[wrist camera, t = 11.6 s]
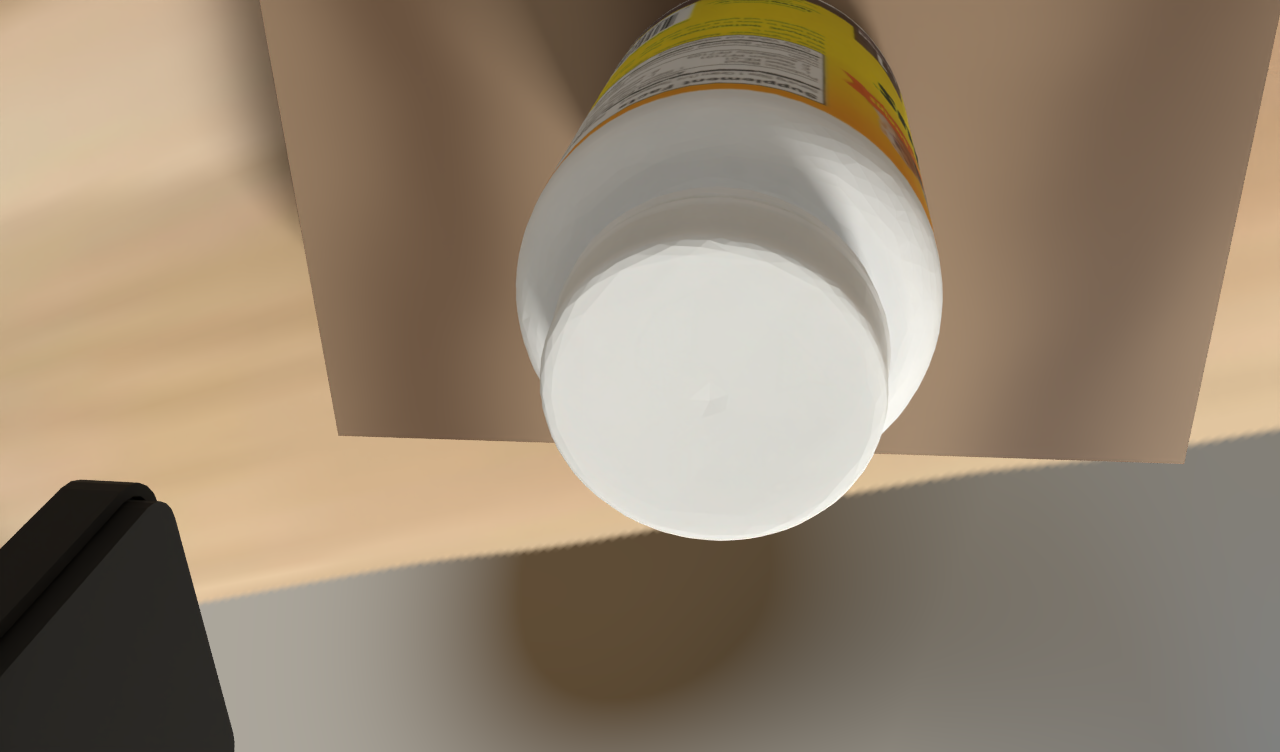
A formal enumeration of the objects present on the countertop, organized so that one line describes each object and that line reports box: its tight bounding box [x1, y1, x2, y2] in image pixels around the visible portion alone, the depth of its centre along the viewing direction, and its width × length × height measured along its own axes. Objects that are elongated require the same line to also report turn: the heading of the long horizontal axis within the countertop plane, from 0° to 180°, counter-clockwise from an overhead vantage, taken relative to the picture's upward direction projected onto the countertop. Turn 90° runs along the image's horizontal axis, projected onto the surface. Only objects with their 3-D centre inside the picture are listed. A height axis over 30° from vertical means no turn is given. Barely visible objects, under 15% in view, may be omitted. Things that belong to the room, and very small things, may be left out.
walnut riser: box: [259, 0, 1280, 464], centre depth 25 cm, size 18×14×5 cm
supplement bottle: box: [516, 0, 943, 541], centre depth 18 cm, size 6×6×10 cm
